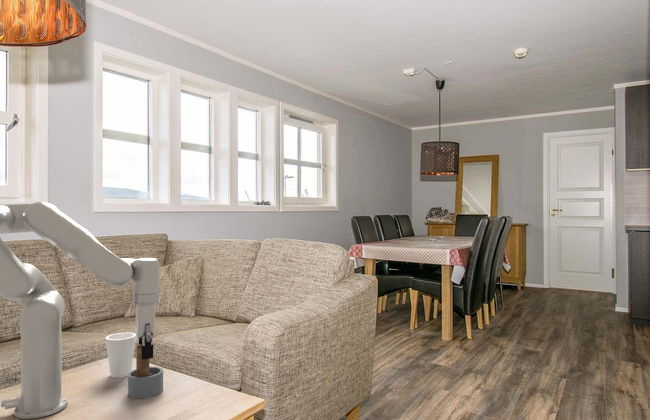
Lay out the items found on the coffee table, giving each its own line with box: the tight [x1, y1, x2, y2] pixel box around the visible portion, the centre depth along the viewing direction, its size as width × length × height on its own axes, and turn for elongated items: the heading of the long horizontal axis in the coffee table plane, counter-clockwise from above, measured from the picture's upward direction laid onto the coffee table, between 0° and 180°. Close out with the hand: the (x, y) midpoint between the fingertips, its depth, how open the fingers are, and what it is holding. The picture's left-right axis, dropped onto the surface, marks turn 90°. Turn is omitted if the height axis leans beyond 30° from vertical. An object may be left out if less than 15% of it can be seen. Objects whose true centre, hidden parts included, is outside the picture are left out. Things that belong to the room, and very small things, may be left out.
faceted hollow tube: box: [127, 366, 164, 400], centre depth 133 cm, size 10×10×6 cm
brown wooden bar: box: [135, 343, 150, 377], centre depth 132 cm, size 4×2×14 cm
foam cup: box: [105, 332, 137, 379], centre depth 148 cm, size 10×9×13 cm
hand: (145, 354), depth 133 cm, fingers open, 9 cm apart
